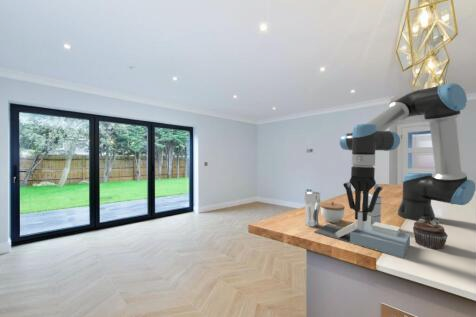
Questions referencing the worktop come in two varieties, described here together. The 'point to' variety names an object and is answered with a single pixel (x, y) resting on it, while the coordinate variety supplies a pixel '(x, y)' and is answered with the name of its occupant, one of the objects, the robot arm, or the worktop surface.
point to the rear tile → (386, 228)
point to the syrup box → (376, 213)
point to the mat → (332, 232)
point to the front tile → (347, 229)
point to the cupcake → (429, 233)
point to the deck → (381, 241)
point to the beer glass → (312, 208)
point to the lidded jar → (332, 212)
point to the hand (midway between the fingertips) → (360, 228)
